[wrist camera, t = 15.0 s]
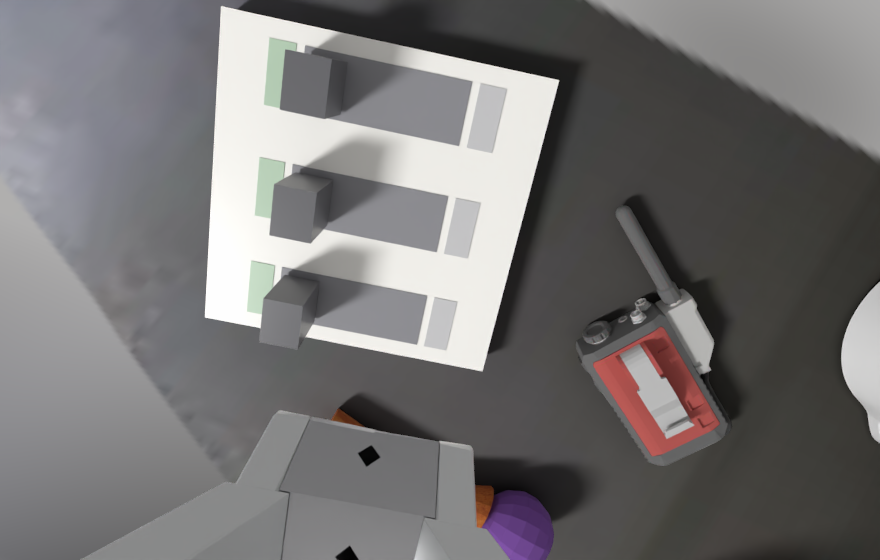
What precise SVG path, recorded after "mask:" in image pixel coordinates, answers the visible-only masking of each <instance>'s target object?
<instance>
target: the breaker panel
mask: <svg viewBox="0 0 880 560" xmlns="http://www.w3.org/2000/svg"><path fill="white" fill-rule="evenodd" d="M285 49H287V50H292V51H298V52H303V53H308V54H313V55H317V56H322V57H326V58H331V59H336V60H340V61H345V62H348V63H347V71H346V78H345V86H344V94H343V101H342V109H341V115H338V116H334V117H331V118H327V119H321V118H316V117H312V116H307V115H302V114H297V113H293V112H288V111H283V110H280V100H281V89H282V78H283V67H284V56H285ZM558 83H559V80H556V79H551V78H547V77H542V76H538V75H533V74H528V73H524V72H519V71H515V70H510V69H506V68H501V67H496V66H492V65H487V64H483V63H478V62H474V61H469V60H464V59H460V58H455V57H451V56H446V55H442V54H437V53H433V52H428V51H423V50H419V49H414V48H410V47H405V46H401V45H396V44H391V43H387V42H382V41H378V40H373V39H369V38H364V37H359V36H355V35H350V34H346V33H341V32H337V31H332V30H328V29H323V28H318V27H314V26H309V25H305V24H300V23H296V22H291V21H286V20H282V19H277V18H273V17H268V16H264V15H259V14H255V13H250V12H245V11H241V10H236V9H232V8H227V7H223V6H221V19H220V39H219V58H218V77H217V96H216V115H215V135H214V154H213V173H212V192H211V211H210V230H209V250H208V269H207V288H206V307H205V317H207V318H212V319H217V320H222V321H227V322H232V323H237V324H242V325H248V326H253V327H258V328H261V318H262V308H263V298H264V297H265V296H266V295H267V294H268V293H269V292H270V290H271V289H272V288H273V287H274V286H275V285H276V284H277V283H278V282H279V280H280V279H281V278H282V277H283V276H284V275H289V276H294V277H299V278H304V279H309V280H314V281H319V282H320V284H319V292H318V300H317V307H316V315H315V321H314V323H313V325H312V326H311V328H310V330H309V332H308V333H307V335H306V337H309V338H314V339H319V340H325V341H330V342H335V343H340V344H345V345H350V346H355V347H360V348H366V349H371V350H376V351H381V352H386V353H391V354H396V355H402V356H407V357H412V358H417V359H422V360H427V361H432V362H437V363H443V364H448V365H453V366H458V367H463V368H468V369H473V370H478V371H483V367H484V363H485V360H486V356H487V352H488V348H489V344H490V341H491V337H492V333H493V329H494V325H495V322H496V318H497V314H498V310H499V307H500V303H501V299H502V295H503V291H504V288H505V284H506V280H507V276H508V272H509V269H510V265H511V261H512V257H513V254H514V250H515V246H516V242H517V238H518V235H519V231H520V227H521V223H522V220H523V216H524V212H525V208H526V204H527V201H528V197H529V193H530V189H531V185H532V182H533V178H534V174H535V170H536V167H537V163H538V159H539V155H540V151H541V148H542V144H543V140H544V136H545V132H546V129H547V125H548V121H549V117H550V114H551V110H552V106H553V102H554V98H555V95H556V91H557V87H558ZM295 172H297V173H302V174H307V175H312V176H317V177H321V178H326V179H331V180H333V186H332V194H331V201H330V209H329V216H328V224H327V226H326V227H325V228H324V230H323V231H322V232H321V233H320V234H319V235H318V236H317V237H316V238H315V239H314V241H313V242H312V243H311V244H310V243H305V242H300V241H295V240H290V239H285V238H280V237H275V236H270V235H269V233H270V222H271V211H272V200H273V190H274V184H275V183H277V182H279V181H281V180H282V179H284V178H286V177H288V176H289V175H291V174H293V173H295Z"/></svg>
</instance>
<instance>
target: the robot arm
mask: <svg viewBox="0 0 880 560" xmlns="http://www.w3.org/2000/svg"><path fill="white" fill-rule="evenodd" d="M841 363H842V370H843V375H844V378H845V381H846V383H847V385H848V387H849V389H850V390H851V392H852V393H853V395H854V396H855V397H856V398H857V399H858V401H859V402H860V403H861V404H862V405H863V407H864V408H865V409H866V411H867V413H868V421H869V427H870V432H871V435H872V437H873V438H874V439H875V440H876V441H877V442H879V443H880V282H879V283H878V284H877V285H876V286H875V287H874V288H873V289H872V290H871V291H870V292H869V293H868V294H867V296H866V297H865V298H864V299H863V301H862V302H861V303H860V305H859V306H858V308H857V310H856V311H855V313H854V315H853V316H852V318H851V321H850V323H849V325H848V327H847V330H846V333H845V336H844V340H843V345H842V354H841ZM81 560H510V559H509V557H508V556H507V555H506V553H505V552H504V551H503V549H502V548H501V547H500V546H499V544H498V543H497V542H496V540H495V539H494V538H493V536H492V535H491V534H490V533H489V531H488V530H487V529H483V528H478V527H477V521H476V499H475V478H474V457H473V449H472V447H471V446H470V445H463V444H457V443H451V442H444V441H439V442H437V441H431V440H426V439H421V438H415V437H410V436H404V435H399V434H393V433H388V432H382V431H377V430H375V429H370V428H365V427H360V426H356V425H351V424H346V423H341V422H337V421H332V420H327V419H322V418H318V417H312V418H311V417H310V416H307V415H302V414H297V413H292V412H286V411H281V410H279V411H278V412H277V413H276V414H274V415H273V417H272V419H271V421H270V422H269V424H268V426H267V428H266V430H265V431H264V433H263V435H262V437H261V439H260V440H259V442H258V444H257V446H256V448H255V449H254V451H253V453H252V455H251V457H250V458H249V460H248V462H247V464H246V466H245V467H244V469H243V471H242V473H241V475H240V476H239V478H238V480H237V482H236V484H235V483H229V482H224V483H222V484H220V485H218V486H216V487H214V488H212V489H211V490H209V491H207V492H205V493H203V494H201V495H199V496H198V497H196V498H194V499H192V500H190V501H188V502H187V503H185V504H183V505H181V506H179V507H177V508H175V509H174V510H172V511H170V512H168V513H166V514H165V515H163V516H161V517H159V518H157V519H155V520H153V521H151V522H149V523H148V524H146V525H144V526H142V527H140V528H138V529H136V530H135V531H133V532H131V533H129V534H127V535H125V536H123V537H122V538H120V539H118V540H116V541H114V542H112V543H111V544H109V545H107V546H105V547H103V548H101V549H99V550H98V551H96V552H94V553H92V554H90V555H88V556H86V557H85V558H83V559H81Z"/></svg>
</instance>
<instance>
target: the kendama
mask: <svg viewBox="0 0 880 560" xmlns="http://www.w3.org/2000/svg"><path fill="white" fill-rule="evenodd" d="M331 420H332V421H337V422H341V423H346V424H351V425H356V426H360V427H364V426H363V425H362V424H360V423H359V422H357V421H356V420H354V419H353V418H352V417H350V416H349V415H347V414H346V413H345V412H343V411H342V410H340V409H339V408H338V409H337V411H336V413H335V414H334V416H333V418H332V419H331ZM365 428H366V427H365ZM475 499H476V521H477V527H478V528H483V529H487V530H488V531H489V533H490V534H491V535H492V536H493V538H494V539H495V540H496V542H497V543H498V544H499V546H500V547H501V548H502V549H503V551H504V552H505V553H506V555H507V556H508V557H509V559H510V560H546V558H547V556H548V554H549V552H550V550H551V547H552V544H553V537H554V532H553V526H552V522H551V518H550V515H549V513H548V512H547V511H546V509H545V508H544V507H543V505H542V504H541V503H540V502H539V500H538V499H537V498H535V497H534V496H532V495H530V494H528V493H526V492H525V491H513V490H505V491H503V492H500V493H498V494H496V495H494V489H493V488H492V486H482V485H475Z"/></svg>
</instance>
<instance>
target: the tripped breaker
mask: <svg viewBox="0 0 880 560" xmlns="http://www.w3.org/2000/svg"><path fill="white" fill-rule="evenodd" d="M347 63H348V62H345V61H340V60H336V59H331V58H326V57H322V56H317V55H313V54H308V53H303V52H298V51H292V50H287V49H285V56H284V67H283V78H282V89H281V100H280V110H283V111H288V112H293V113H297V114H302V115H307V116H312V117H316V118H321V119H327V118H331V117H334V116H338V115H341V109H342V101H343V94H344V86H345V78H346V71H347Z"/></svg>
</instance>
